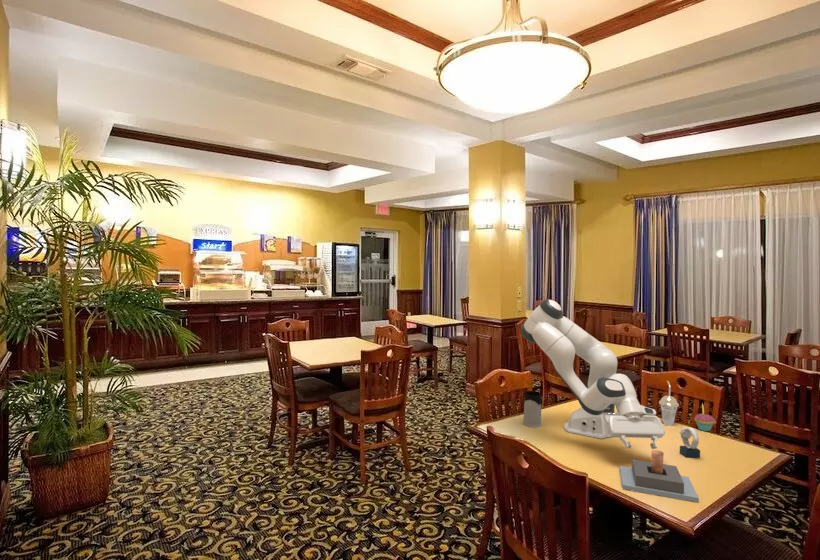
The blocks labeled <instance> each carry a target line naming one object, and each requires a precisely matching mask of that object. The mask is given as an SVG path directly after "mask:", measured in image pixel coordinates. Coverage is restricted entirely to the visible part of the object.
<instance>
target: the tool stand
mask: <svg viewBox="0 0 820 560" xmlns="http://www.w3.org/2000/svg"><path fill="white" fill-rule="evenodd" d="M620 475H621V476H620ZM619 476H620V481H621V482H622V483H621V488H623V489H622V490H624V489H627V490H626V491H629V490H633V491H632V492H635V491H638V492H637V493H641V492H644V493H643V494H646V493H648V495H652V494H654V495H653V496H658V495H660V496H659V497H663V496H666V497H665V498H669V497H671V499H675V498H677V499H676V500H680V499H683V500H682V501H686V500H689V501H688V502H692V501H695V502H694V503H697V502H699V501H700V497H699V496H698V493H697V491H696V490H695V487H694V485H693V483H692V481H691V479H690V477H689V476H685V475H681V473H680V471H679V469H678V467H677V465H676V466H675V465H671V464H664V463H663V475H660V474H654V473H651V461H645V460H640V459H639V460H638V459H631V467H629V466H624V465H619Z"/></svg>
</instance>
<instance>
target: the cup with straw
mask: <svg viewBox="0 0 820 560" xmlns="http://www.w3.org/2000/svg"><path fill="white" fill-rule="evenodd" d="M666 382H667V385H668V395H665V396H662V397H661V399H660V400H658V401H659V402H658V404H659V405H660V409H661V418H662V419H661V420H662V425H663V426H664V425H665V426H667V427H673V426H674V424H675V419H676V413H677V410H678V407H680V403H678V401H677V399H676V398H675V397H674V396H671V383H670V382H669V380H666Z"/></svg>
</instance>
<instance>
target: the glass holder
mask: <svg viewBox="0 0 820 560" xmlns="http://www.w3.org/2000/svg"><path fill="white" fill-rule="evenodd" d="M523 403H524V405H523V422H522V425H523V426H524V427H527V428H533V429H534V428H535V429H536V428H538V429H539V428H541V427H543V424H542V393H541V392H540V391H534V390H533V391H532V390H527V391H524V402H523Z"/></svg>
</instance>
